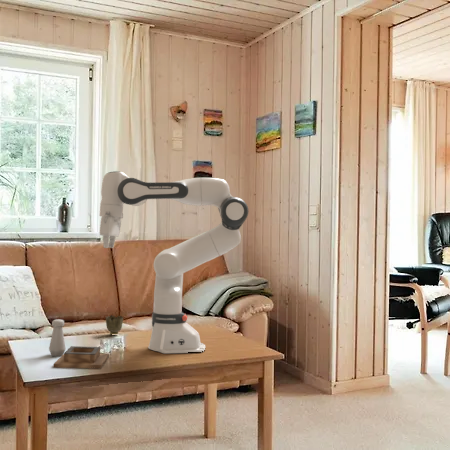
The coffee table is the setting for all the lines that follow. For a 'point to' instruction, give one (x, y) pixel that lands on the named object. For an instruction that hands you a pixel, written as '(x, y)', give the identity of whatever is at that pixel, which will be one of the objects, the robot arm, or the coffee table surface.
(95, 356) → the stepped wooden plinth
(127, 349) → the coffee table surface
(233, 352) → the coffee table surface
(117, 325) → the cup
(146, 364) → the coffee table surface
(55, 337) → the salt shaker
